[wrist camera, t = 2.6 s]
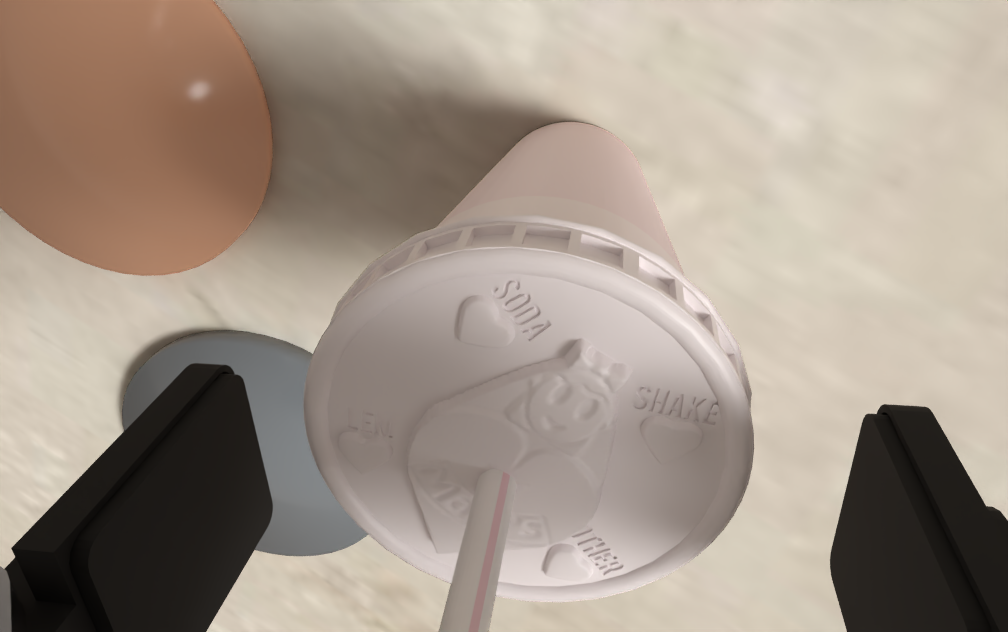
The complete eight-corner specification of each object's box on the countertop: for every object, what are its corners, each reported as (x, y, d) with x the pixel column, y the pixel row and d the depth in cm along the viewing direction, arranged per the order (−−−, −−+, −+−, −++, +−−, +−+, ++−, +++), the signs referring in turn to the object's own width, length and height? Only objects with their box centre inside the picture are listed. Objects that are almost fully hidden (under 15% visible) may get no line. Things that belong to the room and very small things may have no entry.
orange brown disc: (-115, -81, 18) (-144, -79, 17) (237, -92, 17) (220, -91, 16) (20, 257, 23) (1, 269, 22) (304, 268, 21) (294, 282, 21)
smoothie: (400, 223, 20) (44, 763, 8) (531, 3, 17) (264, 355, 5) (601, 347, 21) (555, 992, 9) (761, 163, 18) (1026, 786, 6)
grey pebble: (98, 323, 23) (81, 337, 23) (372, 331, 22) (363, 347, 21) (182, 528, 28) (171, 545, 27) (415, 548, 26) (409, 566, 26)
